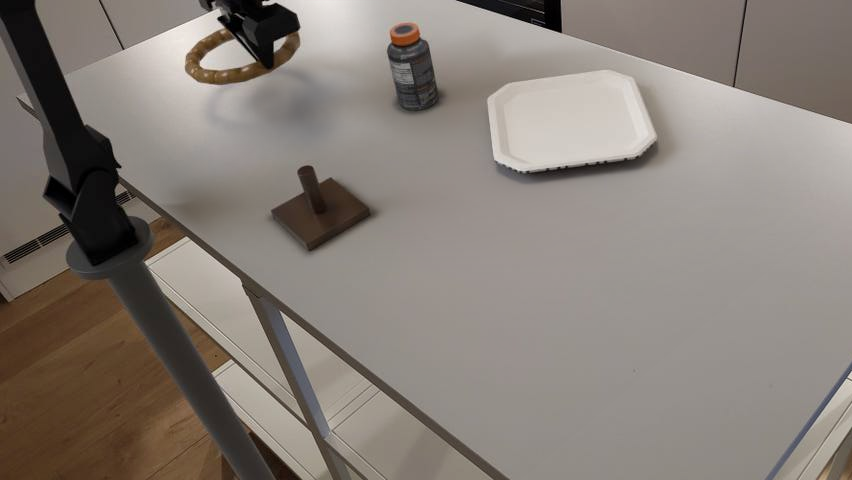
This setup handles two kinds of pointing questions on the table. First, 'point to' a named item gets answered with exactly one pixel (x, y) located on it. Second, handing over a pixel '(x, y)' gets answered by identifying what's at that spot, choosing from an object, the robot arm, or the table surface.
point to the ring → (235, 73)
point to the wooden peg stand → (319, 210)
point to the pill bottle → (411, 67)
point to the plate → (569, 121)
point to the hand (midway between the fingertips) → (266, 65)
